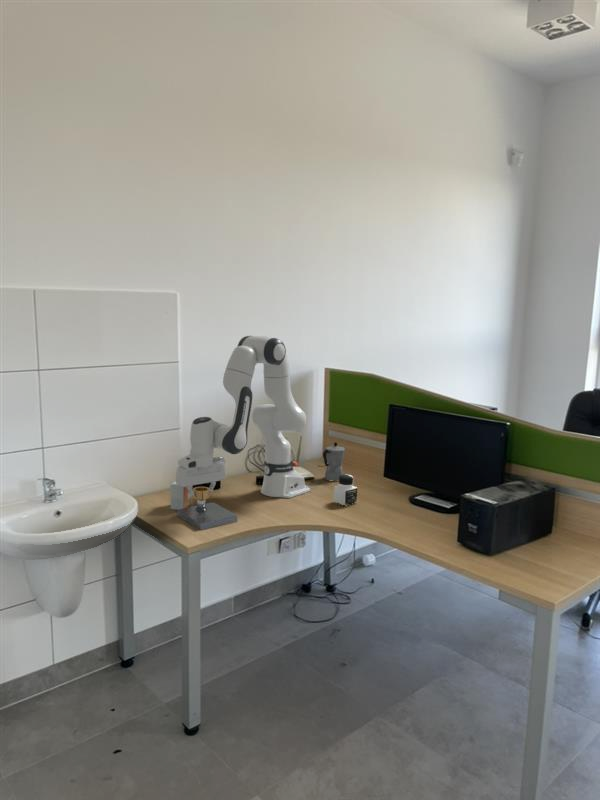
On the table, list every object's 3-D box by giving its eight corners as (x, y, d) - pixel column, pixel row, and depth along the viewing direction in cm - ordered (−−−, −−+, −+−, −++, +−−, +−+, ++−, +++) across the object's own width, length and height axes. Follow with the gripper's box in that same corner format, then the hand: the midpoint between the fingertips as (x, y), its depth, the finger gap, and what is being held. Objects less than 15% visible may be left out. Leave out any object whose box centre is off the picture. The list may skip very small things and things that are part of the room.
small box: (183, 510, 241) (183, 485, 239) (170, 509, 242) (170, 484, 240) (190, 504, 249) (191, 479, 247) (178, 503, 250) (178, 478, 248)
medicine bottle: (345, 506, 253) (346, 478, 251) (333, 502, 258) (334, 474, 256) (356, 503, 257) (358, 476, 255) (344, 499, 263) (346, 472, 261)
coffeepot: (335, 474, 300) (336, 438, 298) (350, 478, 294) (351, 442, 291) (314, 480, 289) (316, 443, 286) (330, 484, 283) (331, 447, 280)
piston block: (213, 508, 245) (213, 490, 244) (237, 521, 231) (237, 502, 230) (177, 515, 235) (177, 497, 234) (200, 530, 221) (200, 510, 220)
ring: (204, 493, 240) (204, 485, 240) (213, 497, 235) (213, 490, 234) (189, 495, 236) (189, 488, 235) (198, 500, 231) (198, 492, 230)
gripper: (220, 454, 242) (220, 487, 244) (174, 461, 229) (173, 496, 231) (229, 457, 237) (228, 491, 239) (182, 464, 224) (181, 500, 227)
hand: (201, 494), depth 235 cm, fingers closed on ring, 7 cm apart
